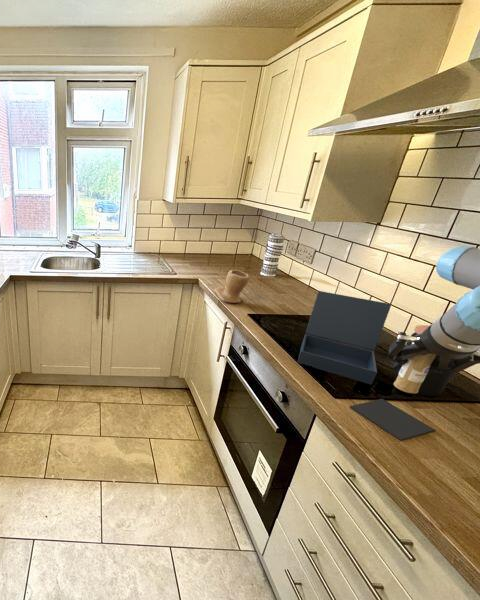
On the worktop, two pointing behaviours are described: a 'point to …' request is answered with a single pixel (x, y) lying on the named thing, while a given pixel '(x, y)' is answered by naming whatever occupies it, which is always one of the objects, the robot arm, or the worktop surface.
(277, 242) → the leaning tower model
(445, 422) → the worktop surface
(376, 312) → the chest lid
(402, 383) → the sprinkles bottle
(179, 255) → the worktop surface
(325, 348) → the chest
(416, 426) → the mat
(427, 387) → the coffee jar
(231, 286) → the stone cup
